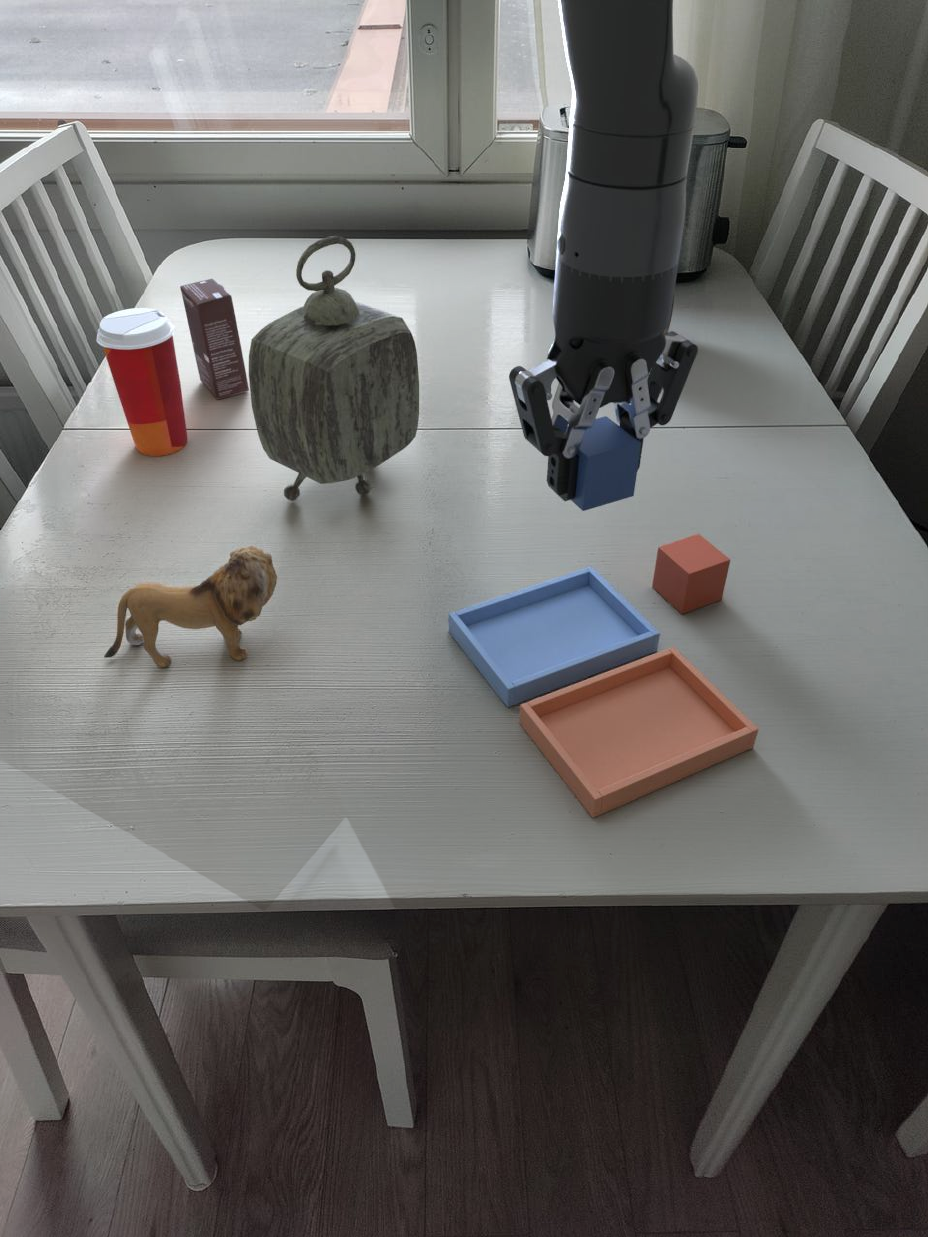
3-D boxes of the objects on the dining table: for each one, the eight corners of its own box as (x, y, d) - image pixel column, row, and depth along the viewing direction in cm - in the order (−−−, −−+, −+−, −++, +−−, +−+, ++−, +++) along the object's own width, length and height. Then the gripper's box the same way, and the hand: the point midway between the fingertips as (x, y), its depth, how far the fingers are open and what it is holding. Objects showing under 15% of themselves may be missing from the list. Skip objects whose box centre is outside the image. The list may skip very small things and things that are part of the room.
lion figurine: (283, 614, 83) (269, 528, 77) (289, 654, 79) (275, 567, 73) (106, 642, 80) (78, 555, 74) (104, 685, 76) (74, 597, 70)
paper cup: (179, 419, 110) (152, 299, 101) (209, 445, 105) (185, 322, 96) (113, 440, 106) (80, 318, 97) (142, 469, 101) (110, 343, 92)
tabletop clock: (367, 445, 105) (349, 208, 89) (429, 473, 100) (422, 229, 84) (266, 502, 96) (227, 250, 80) (329, 535, 92) (301, 276, 76)
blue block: (600, 467, 72) (606, 415, 69) (634, 496, 69) (641, 442, 66) (550, 481, 71) (554, 428, 68) (582, 511, 68) (588, 457, 65)
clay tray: (670, 664, 78) (673, 646, 77) (753, 747, 71) (759, 728, 70) (519, 722, 73) (519, 704, 72) (592, 818, 66) (595, 799, 65)
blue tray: (589, 583, 86) (591, 566, 85) (657, 651, 79) (660, 633, 78) (448, 631, 81) (448, 613, 80) (507, 707, 74) (508, 689, 73)
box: (197, 382, 117) (178, 284, 109) (232, 373, 119) (216, 276, 111) (214, 401, 113) (196, 302, 105) (250, 392, 115) (235, 293, 107)
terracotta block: (691, 572, 87) (698, 533, 84) (722, 599, 84) (730, 559, 81) (651, 586, 86) (657, 546, 83) (681, 614, 83) (689, 574, 80)
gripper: (549, 290, 54) (534, 539, 65) (749, 250, 59) (703, 487, 70) (486, 248, 59) (482, 485, 70) (675, 214, 64) (643, 441, 75)
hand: (592, 485), depth 70 cm, fingers closed on blue block, 4 cm apart
